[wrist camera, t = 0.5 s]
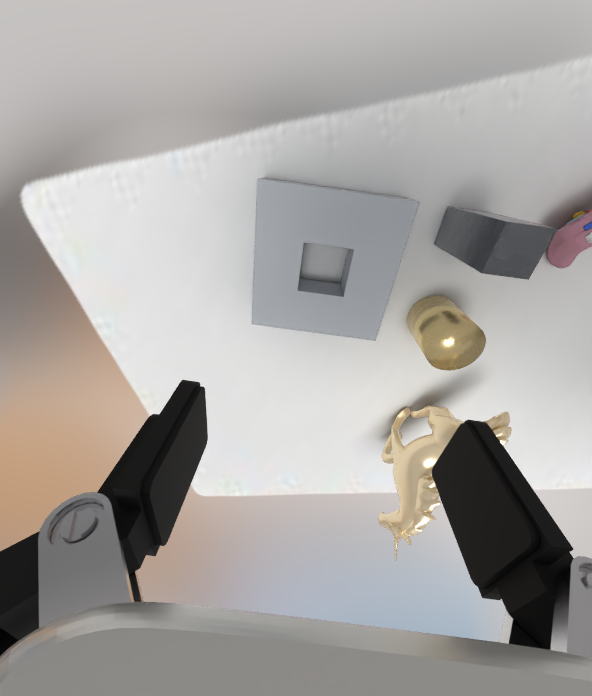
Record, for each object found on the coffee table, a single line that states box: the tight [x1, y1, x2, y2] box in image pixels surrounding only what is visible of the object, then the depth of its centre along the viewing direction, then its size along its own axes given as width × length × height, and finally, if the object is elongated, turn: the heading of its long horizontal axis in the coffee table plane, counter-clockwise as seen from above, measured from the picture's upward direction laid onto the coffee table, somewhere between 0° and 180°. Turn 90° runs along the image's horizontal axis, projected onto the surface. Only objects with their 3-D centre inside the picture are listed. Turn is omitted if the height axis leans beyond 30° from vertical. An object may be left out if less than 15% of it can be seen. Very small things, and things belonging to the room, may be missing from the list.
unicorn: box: [379, 405, 511, 560], centre depth 35 cm, size 20×4×17 cm, turn 142°
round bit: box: [407, 295, 486, 370], centre depth 31 cm, size 6×6×7 cm
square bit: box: [434, 206, 558, 279], centre depth 24 cm, size 4×4×10 cm
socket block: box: [252, 178, 419, 341], centre depth 29 cm, size 14×14×4 cm
